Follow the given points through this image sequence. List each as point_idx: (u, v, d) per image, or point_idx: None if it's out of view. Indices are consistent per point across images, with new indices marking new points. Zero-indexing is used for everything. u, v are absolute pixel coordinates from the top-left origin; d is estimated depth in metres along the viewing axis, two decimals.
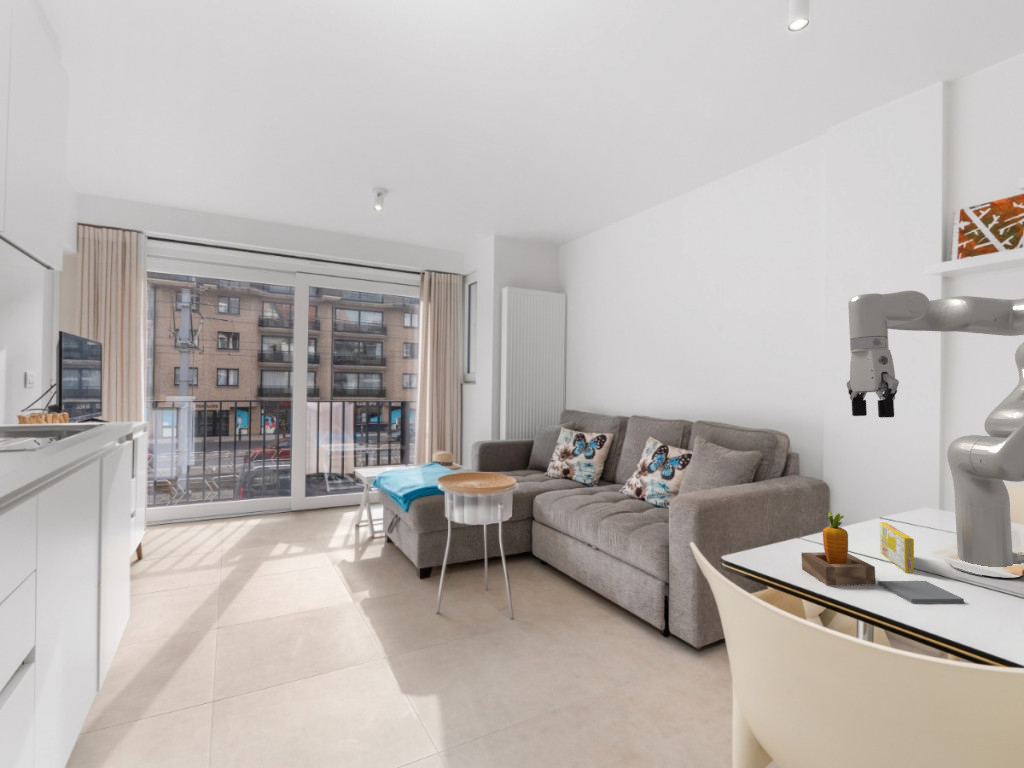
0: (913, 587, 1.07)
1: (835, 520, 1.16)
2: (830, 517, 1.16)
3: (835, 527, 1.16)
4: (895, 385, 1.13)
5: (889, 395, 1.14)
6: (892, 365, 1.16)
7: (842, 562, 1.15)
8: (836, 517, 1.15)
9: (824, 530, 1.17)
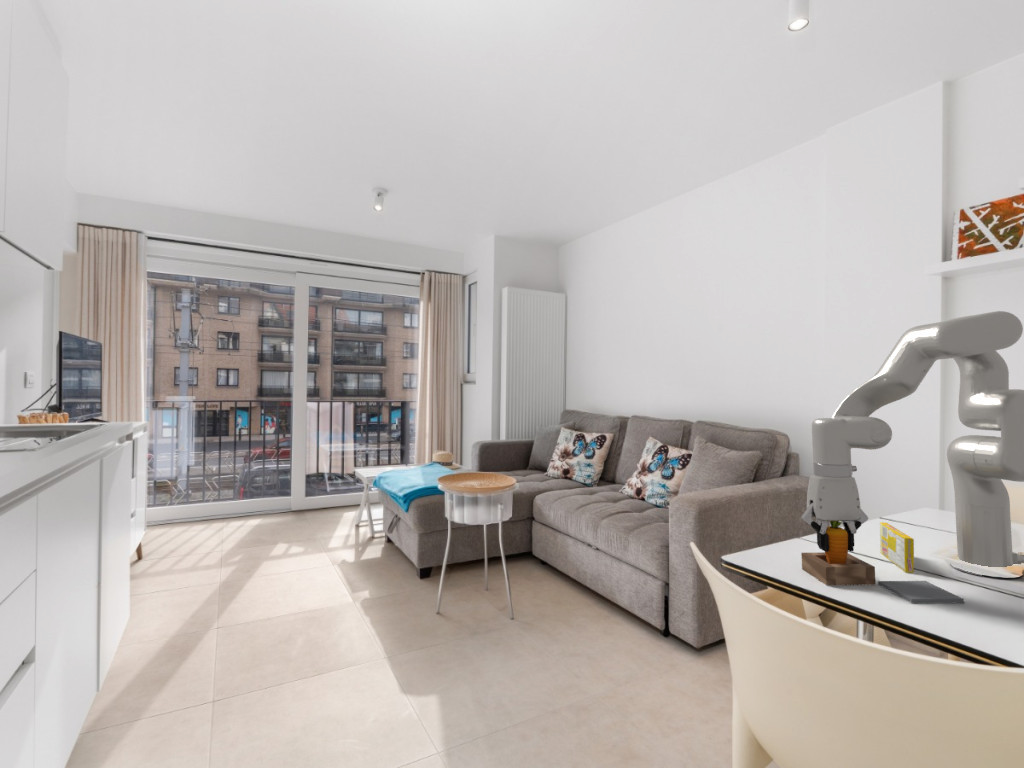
0: (913, 587, 1.07)
1: None
2: None
3: (835, 527, 1.16)
4: None
5: None
6: None
7: (842, 562, 1.15)
8: None
9: None
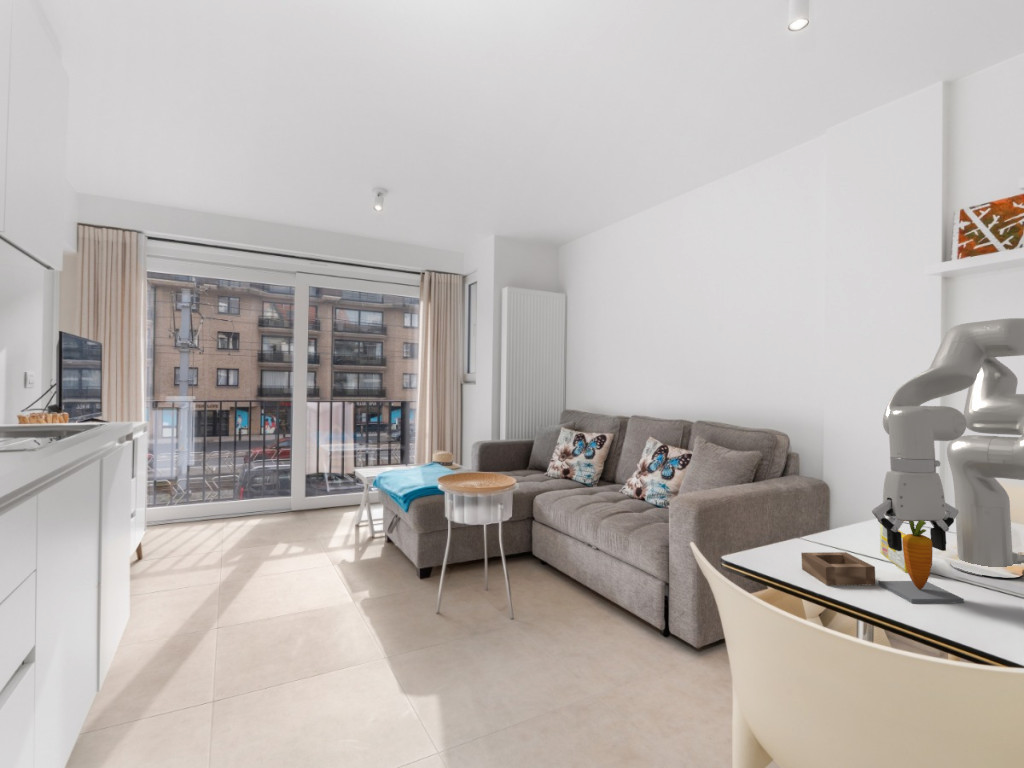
0: (913, 587, 1.07)
1: (918, 527, 1.05)
2: (912, 524, 1.06)
3: (917, 535, 1.05)
4: None
5: None
6: None
7: (926, 573, 1.04)
8: (919, 524, 1.05)
9: (905, 538, 1.06)
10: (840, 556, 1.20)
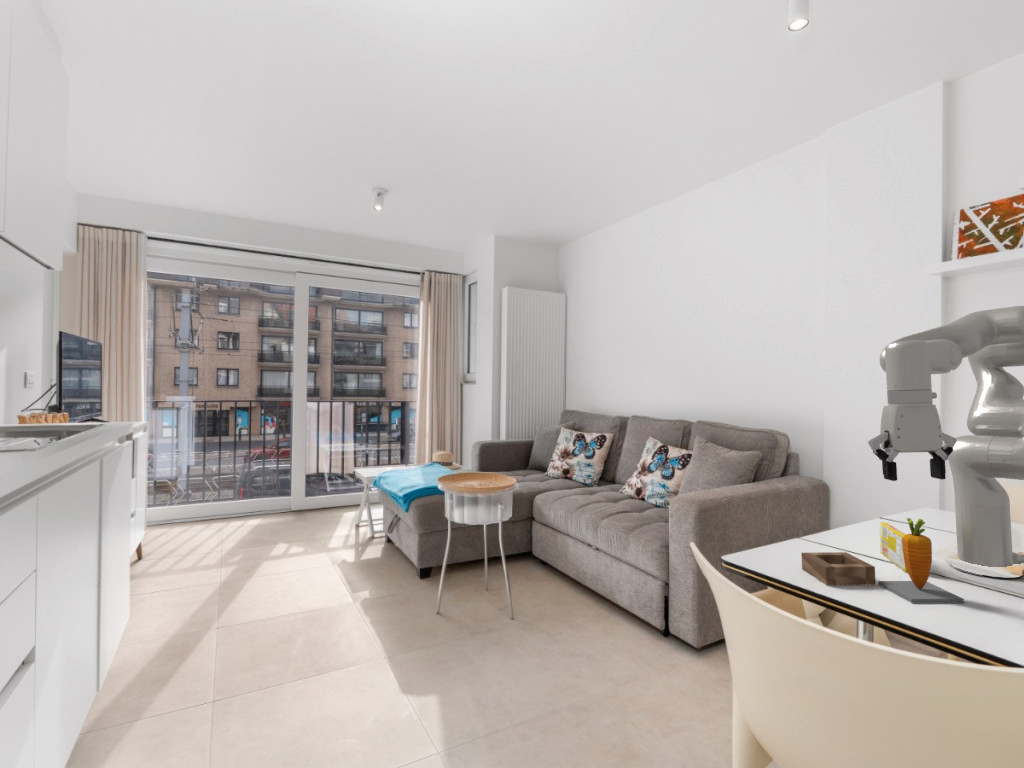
0: (913, 587, 1.07)
1: (917, 527, 1.05)
2: (911, 523, 1.06)
3: (917, 534, 1.06)
4: None
5: None
6: None
7: (926, 573, 1.04)
8: (918, 523, 1.05)
9: (904, 538, 1.07)
10: (840, 556, 1.20)
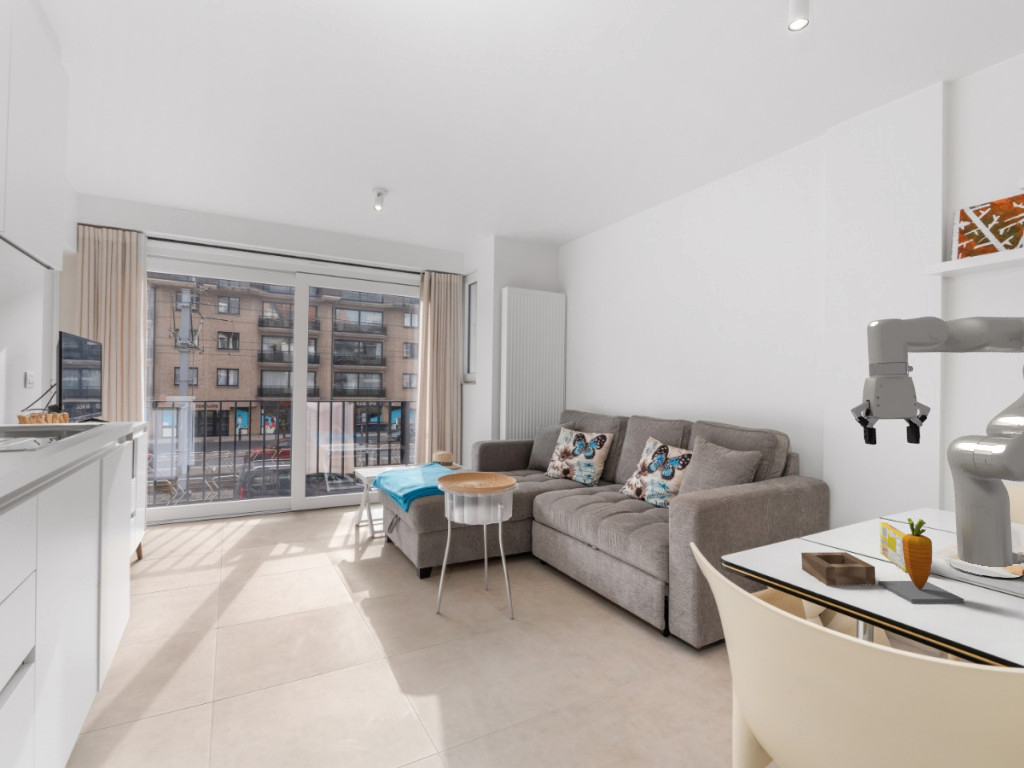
0: (913, 587, 1.07)
1: (918, 527, 1.05)
2: (911, 524, 1.06)
3: (917, 535, 1.06)
4: None
5: None
6: None
7: (926, 573, 1.04)
8: (919, 524, 1.05)
9: (904, 538, 1.07)
10: (840, 556, 1.20)
